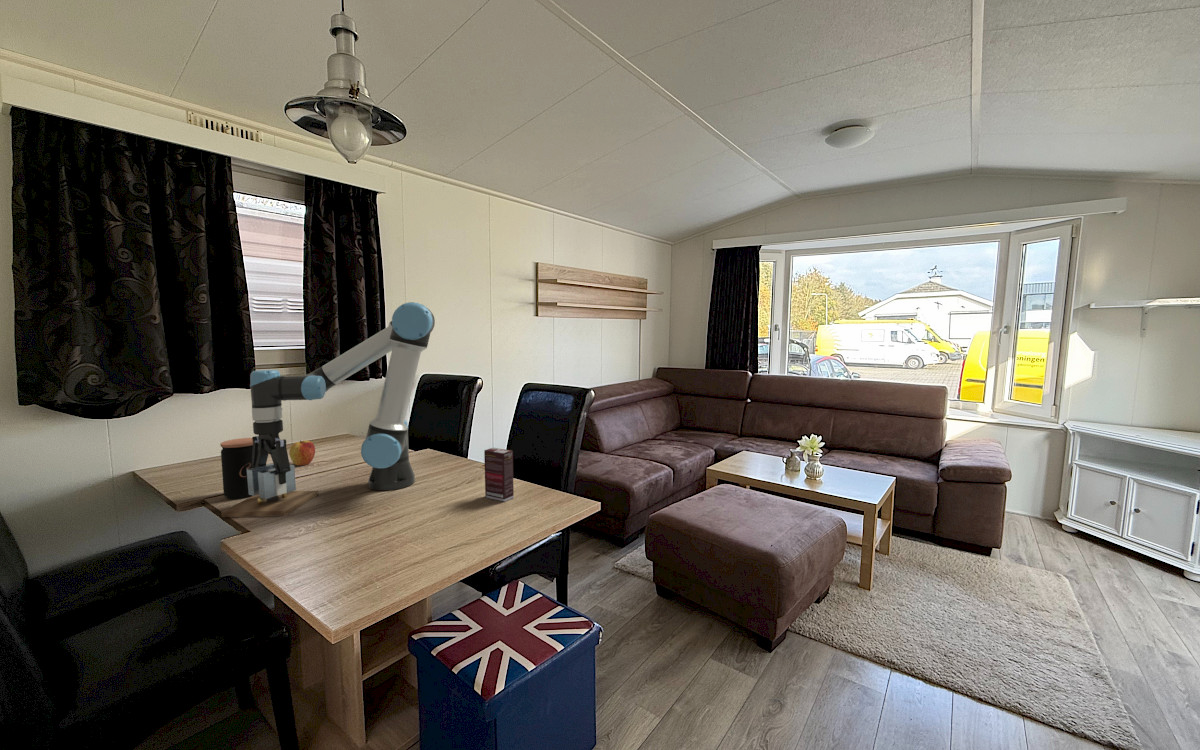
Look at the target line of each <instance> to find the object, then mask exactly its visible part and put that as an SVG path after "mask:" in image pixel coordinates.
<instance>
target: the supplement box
mask: <svg viewBox="0 0 1200 750" xmlns="http://www.w3.org/2000/svg"><path fill="white" fill-rule="evenodd" d="M483 454H484V485H485V486H484V488H485V489H484V490H485V491H484V493H485V498H487V499H491V500H496V501H499V502H507V501H509V500H512V499H514V498H515V497H514V451H513V450H511V449H503V448H498V447H497V448H496V447H491V448H490V447H489V448H487V449H484V453H483Z"/></svg>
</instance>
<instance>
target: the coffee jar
mask: <svg viewBox="0 0 1200 750" xmlns="http://www.w3.org/2000/svg"><path fill="white" fill-rule="evenodd" d="M219 446H220V447H221V448H222V449H221V451H220V459H221V475H222V489H223V495H224V497H226V498H227V499H229V500H242V499H248V498H250V497H252V495H249V492H248V479H247V469H250V468H254V467H255V466H254V467H252V451H253V440H252V437H242V438H235V439H229V440H225V441H223V442H220V445H219Z"/></svg>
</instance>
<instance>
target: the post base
mask: <svg viewBox="0 0 1200 750" xmlns="http://www.w3.org/2000/svg"><path fill="white" fill-rule="evenodd" d="M286 495H287V497H286V498H282V494H281V495H278V496H274V497H271V498H268V499H263V504H262V505H258V498H259V497H260V495H256V496H252V497H248V498H245V499H243V500H242V501H240V502H238V503H236V504H234V505H233V506H230V507H229V508H226V509H225V510H222V511H221V518H229V517H230V518H231V517H232V518H234V517H235V518H237V517H239V518H240V517H241V518H243V517H244V518H245V517H246V518H247V517H248V518H249V517H285V516H287V515H289V514H290V513H292V512H293V511H295V510H297V509H298V508H300V507H301V506H303V505H305V504H307V503H308V502H309V501H311V500H313V499H314V498H316V497H317V496H319V492H318V490H295V491H291V492H288V493H286Z"/></svg>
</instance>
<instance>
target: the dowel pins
mask: <svg viewBox="0 0 1200 750" xmlns="http://www.w3.org/2000/svg"><path fill="white" fill-rule="evenodd" d="M286 497H287V495H286V493H284V494H282V498H286ZM262 504H263V498H260V497H259V498H258V505H262Z"/></svg>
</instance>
